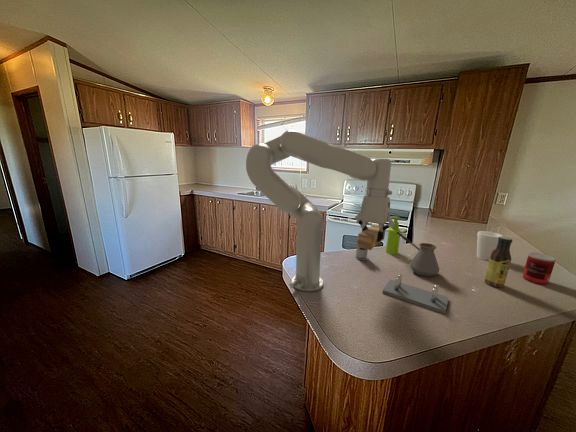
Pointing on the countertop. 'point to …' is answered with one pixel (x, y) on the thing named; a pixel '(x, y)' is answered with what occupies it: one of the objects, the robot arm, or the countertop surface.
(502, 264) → the sauce bottle
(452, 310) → the countertop surface
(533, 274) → the canned food
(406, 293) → the peg stand
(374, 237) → the shelf board
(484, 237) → the foam cup
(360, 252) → the energy drink
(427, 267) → the coffee pot
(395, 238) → the soap dispenser
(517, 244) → the countertop surface
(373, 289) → the countertop surface
